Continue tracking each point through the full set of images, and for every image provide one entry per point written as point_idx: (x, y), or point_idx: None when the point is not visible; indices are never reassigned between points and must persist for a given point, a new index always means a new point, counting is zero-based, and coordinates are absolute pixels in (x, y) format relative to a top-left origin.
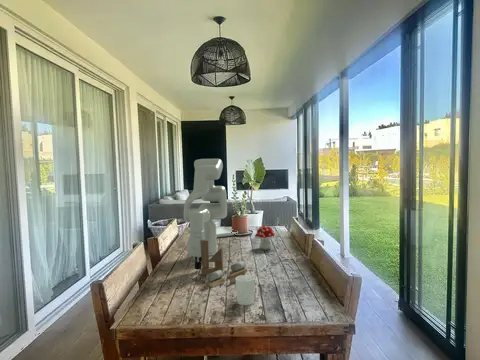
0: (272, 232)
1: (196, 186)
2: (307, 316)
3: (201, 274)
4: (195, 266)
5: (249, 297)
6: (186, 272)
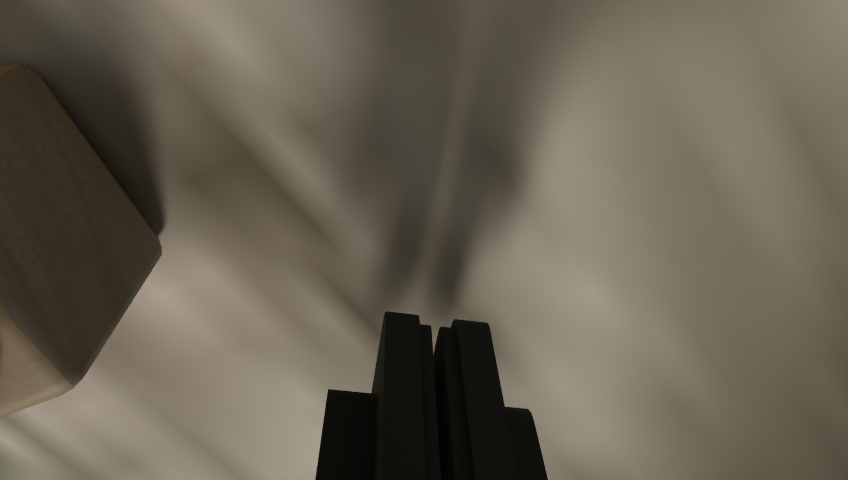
0: None
1: None
2: None
3: (6, 73)
4: (466, 379)
5: None
6: (724, 132)
